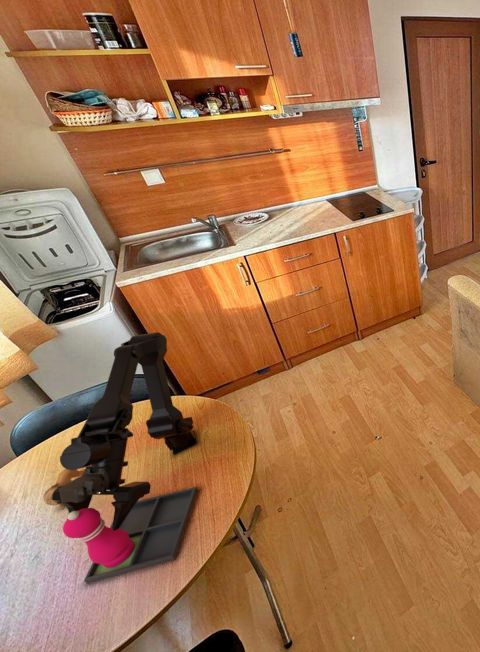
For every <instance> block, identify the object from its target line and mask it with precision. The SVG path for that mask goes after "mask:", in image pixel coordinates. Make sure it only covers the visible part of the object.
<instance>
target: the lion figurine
mask: <svg viewBox="0 0 480 652" xmlns="http://www.w3.org/2000/svg"><path fill="white" fill-rule="evenodd" d="M83 474H84V470H79V469H77V470H68V469H66V468H64V469H62V471H60V472H59V473H58V475H57V479H56V481H55V484H53V485H51V487H49V488H48V489H47V490H46V491H45V492H44V494H43V496H42V497H43V498H42V500H43V502H44V504H46V505H49V506H52V507H53V506H55V507H56V506H58V508H59V509H60V510H62V509H64V508H66V507H65V506H63V505H61V504H58V503H57V501H60V500H52V497H53V492H54V491H55V490H56V489H57V488H58V487H59V486H62V485H66V484H68V483H69V482H71V481H73V478H74V479H75V478H79V477H81V476H83Z"/></svg>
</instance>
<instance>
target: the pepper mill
mask: <svg viewBox="0 0 480 652" xmlns="http://www.w3.org/2000/svg"><path fill="white" fill-rule="evenodd" d="M62 532H63V534H64V536H65V537H66V538H69V539H75V540H76V541H78V542H79V543H85V544H86V547H87V554H88V557H89V559H90V561H91V562H92V563H93V562H94V563H98V564H102V565H103V566H104V567H106V568H113V567H116V566H118V565H120V564H121V563H123V562H124V561H125V560H126V559H127V558H128V557H129V556H130V555H131V554H132V552H133V550H134V542H133V541H132V540H131V539H129V534H128V533H127V532H126V531H124V530H123V529H118V530H115V531H113V528H110V527H108V526H107V525H106V521H105V520H104V519H103V518H102V516H101V512H100V511H99V510H97V508H93V507H89V508H84V509H81V510H79V511H73V512H71V513H70V514H68V515H67V518H66V520H65V521H64V523H63V526H62Z"/></svg>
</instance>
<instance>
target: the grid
mask: <svg viewBox="0 0 480 652" xmlns="http://www.w3.org/2000/svg"><path fill="white" fill-rule="evenodd" d="M198 493H199V489H198V488H197V486H196V487H195V486H194V487H191V488H187V489H182V490H178V491H174V492H170V493H166V494H162V495H158V496H152V497H149V498H144V499H139V500H138V501H137V503H136V504H135V505H134V506H133V508H132V509H131V511H130V512H129V514H128V515H127V517H126V518H125V520H124V521H123V523H122V524H121V526H120V527H119V529H123V530H124V531H126V532H127V533H128V534H129V539H131V540H132V541H133V542H134V550H133V552H132V554H131V555H130V556H129V557H128V558H127V559H126V560H125V561H124V562H123V563H121V564H120V565H118V566H116V567H113V568H106V567H104V566H103V565H102V564H98V563H94V562H93V561H92V563H91V565H90V567H89V569H88V570H87V573H86V576H85V578H84V579H83V582H85V583H86V584H88V585H90V584H93V583H97V582H100V581H104V580H107V579H111V578H115V577H118V576H122V575H125V574H128V573H129V574H130V573H133V572H136V571H137V572H138V571H140V570H143V569H144V570H145V569H148V568H151V567H154V566H158V565H162V564H165V563H169V562H172V561H175V560H176V559H177V556H178V553H179V550H180V547H181V545H182V541H183V539H184V535H185V532H186V530H187V527H188V524H189V521H190V517H191V514H192V510H193V508H194V505H195V502H196V499H197V496H198ZM109 528H113V521H112V522H111V524H110V527H109Z"/></svg>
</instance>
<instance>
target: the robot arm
mask: <svg viewBox="0 0 480 652" xmlns="http://www.w3.org/2000/svg"><path fill="white" fill-rule="evenodd" d="M167 351H168V339H167V337H166V335H164V334H162V333H161V332H157V331H155V332H151V333H150V332H149V333H143V334H136V335H133V336H131V337H130V339H129V340H126V341H125V342H122V343H120V346H118V347H115V348H114V351H113V356H114V359H113V362H112V365H111V369H110V373H109V375H108V379H107V382H106V385H105V389H104V393H103V394H102V397H101V398H100V399H99V400H97V402H96V403H94V404H93V406H92V408H91V410H90V412H89V414H88V416H87V419H86V420H85V422H84V424H83V426H82V427H81V430H80V431H79V433H78V435H77V437H72V438H71V439H70V444H69V445H68V446H66V447H65V448H64V449H63V451H62V453H61V455H60V456H59V461H60V462H59V463H60V465H61V467H62V468H64V469H68V470H79V469H84V470H83V471H84V474H83V476H82V475H80V476H78V477H75V478H74V479H72V481H71V482H69V483H68V484H66V485H62V486H59V487H58V488H57V489H56V490H55V491H54V492H53V497H52V500H60V501H57V503H58V504H61V505H63V506H65V507H64V508H66V509H67V512H68V513H69V514H70V513H71V512H73V511H79V510H81V509H84V508H90V505H91V502H92V499H93V496H112V499H114V500H113V501H112V502H111V505H112V506H113V507H114V512H113V513H114V514H113V520H112V522H113V531H115V530H118V529H119V527H120V526H121V524H122V523H123V521H124V520H125V518H126V517H127V515H128V514H129V512H130V511H131V509H132V508H133V506H134V505H135V504H136V503H137V501H140V500H141V499H143V498H144V497H145V496H146V495H149V494H150V493H151V487H152V485H151V483H150V482H149V481H132V482H129V483H126V484H125V482H126V478H122V475H123V469H124V468H125V467H128V465H129V461H127V460H125V457H126V451H127V445H128V440H129V439H128V438H132V437H134V433H133V432H132V431H130V430H129V428H128V426H129V425H130V424H131V421H132V420H133V415H134V414H133V411H134V405H133V404H132V401H131V400H130V396H131V391H132V388H133V385H134V380H135V376H136V373H137V369H138V366H139V365H140V366H141V369H142V373H143V378H144V382H145V386H146V390H147V394H148V399H149V402H150V407H151V411H152V413H151V414H150V415H149V416H150V417H149V419H147V420H146V421H145V425H146V427H147V434H148V436H150V438H151V439H152V438H153V440H164V444H165V446H166V447H167V448H168V449H169V451H172V455H174V456H175V455H178V454H179V453H182V452H184V451H186V450H188V449H190V448H192V447H194V446H196V445H197V444H198V440H197V434H196V431H195V430H193V429H194V425H193V424H194V419H193V417H192V416H188V417H184V416H183V415H184V414H183V413H182V411H181V410H180V409H178V408H177V407H176V406H175V405H174V404H173V399H172V396H171V390H170V387H169V382H168V378H167V373H166V368H165V365H164V358H165V356H166V355H167ZM69 514H68V515H69Z"/></svg>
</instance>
